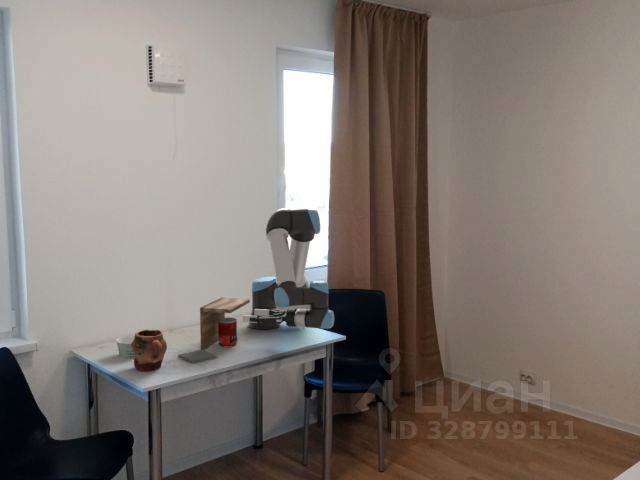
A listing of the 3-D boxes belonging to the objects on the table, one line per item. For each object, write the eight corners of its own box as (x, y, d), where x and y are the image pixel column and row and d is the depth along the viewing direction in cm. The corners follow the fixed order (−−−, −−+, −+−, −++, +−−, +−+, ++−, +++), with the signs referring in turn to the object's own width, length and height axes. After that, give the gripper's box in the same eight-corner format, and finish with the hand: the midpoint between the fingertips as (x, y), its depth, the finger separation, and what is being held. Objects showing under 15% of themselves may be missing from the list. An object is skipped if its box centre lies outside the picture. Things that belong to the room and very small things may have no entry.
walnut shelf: (200, 350, 267) (200, 307, 265) (221, 336, 289) (221, 297, 287) (230, 352, 264) (230, 309, 262) (250, 338, 285) (249, 299, 283)
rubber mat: (201, 351, 265) (201, 349, 264) (216, 357, 256) (216, 355, 256) (178, 357, 257) (178, 354, 257) (192, 363, 249) (192, 360, 249)
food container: (122, 361, 252) (121, 344, 251) (112, 354, 262) (111, 338, 261) (151, 355, 259) (151, 340, 258) (140, 349, 269) (140, 334, 268)
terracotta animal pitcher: (179, 371, 240) (178, 334, 238) (149, 378, 231) (148, 340, 229) (150, 359, 254) (150, 325, 252) (122, 366, 245) (121, 330, 243)
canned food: (233, 347, 272) (233, 322, 270) (215, 346, 273) (215, 321, 272) (239, 342, 279) (239, 317, 278) (222, 341, 281) (221, 317, 279)
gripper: (287, 333, 254) (238, 330, 260) (305, 320, 278) (259, 317, 284) (287, 315, 254) (237, 312, 259) (305, 303, 278) (259, 301, 283)
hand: (248, 315), depth 271 cm, fingers open, 13 cm apart
